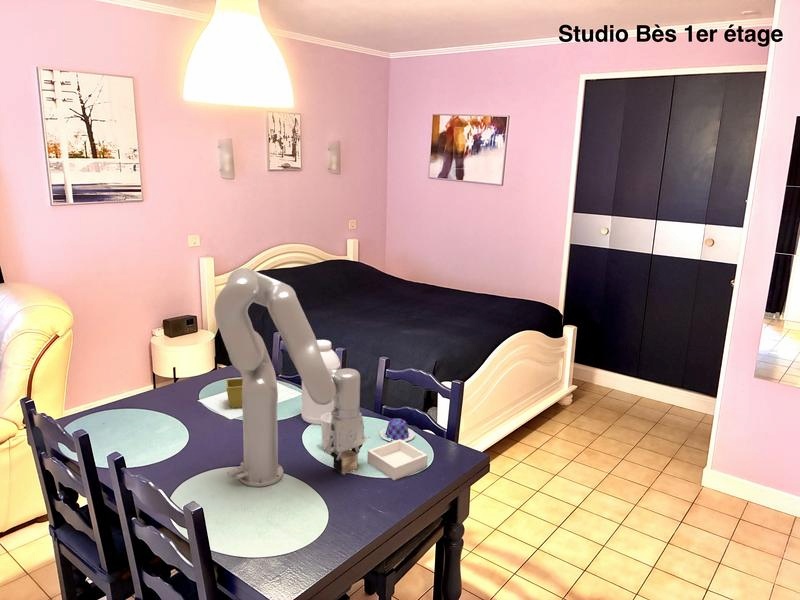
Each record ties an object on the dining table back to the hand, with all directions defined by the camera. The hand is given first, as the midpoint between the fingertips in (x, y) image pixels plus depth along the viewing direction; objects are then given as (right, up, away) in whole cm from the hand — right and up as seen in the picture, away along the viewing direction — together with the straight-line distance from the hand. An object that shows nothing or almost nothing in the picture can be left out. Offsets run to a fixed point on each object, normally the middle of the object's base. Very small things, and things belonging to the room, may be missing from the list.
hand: (345, 466), depth 178 cm
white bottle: (-12, +8, +35) cm, 38 cm away
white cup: (-5, +3, +14) cm, 15 cm away
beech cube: (0, -1, 0) cm, 1 cm away
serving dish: (+15, 0, +4) cm, 16 cm away
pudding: (+15, +4, +23) cm, 28 cm away
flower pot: (-43, +11, +42) cm, 61 cm away
